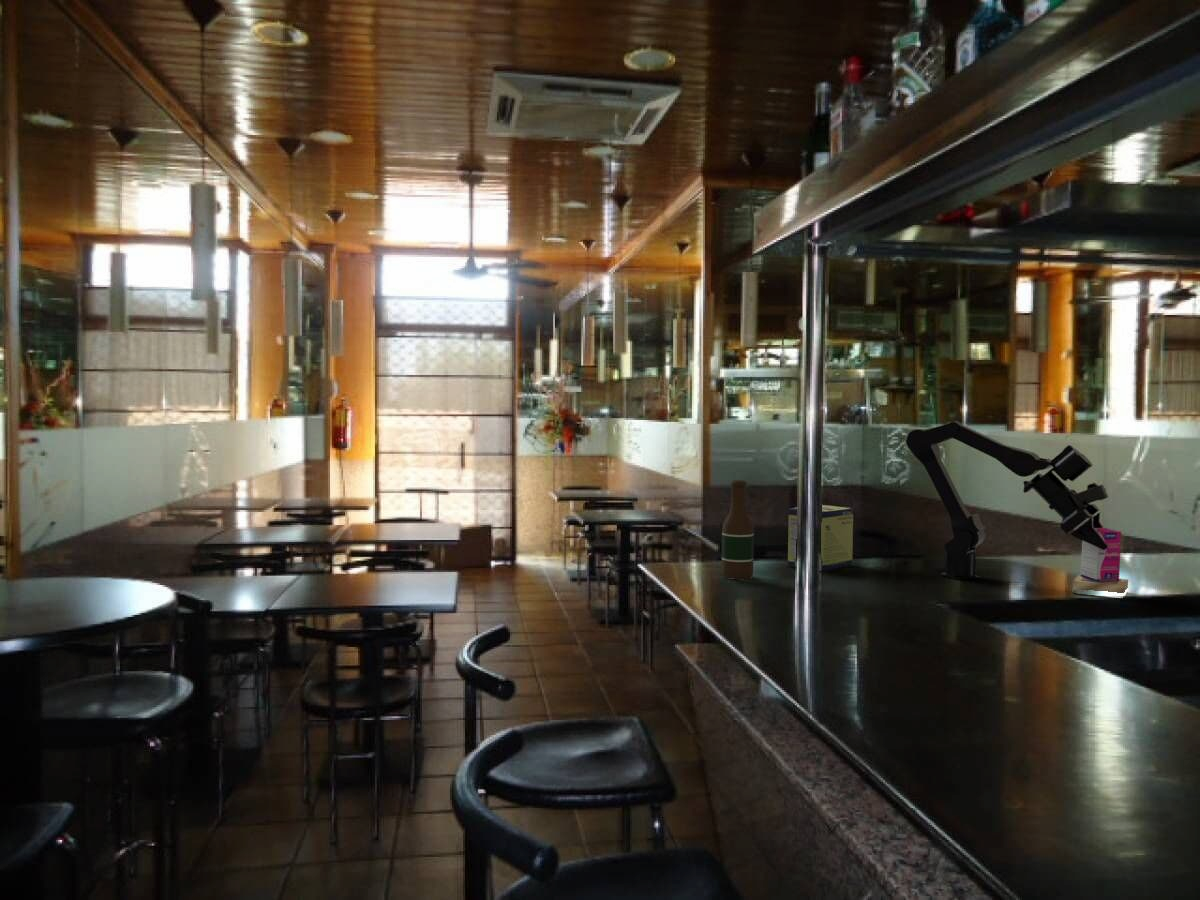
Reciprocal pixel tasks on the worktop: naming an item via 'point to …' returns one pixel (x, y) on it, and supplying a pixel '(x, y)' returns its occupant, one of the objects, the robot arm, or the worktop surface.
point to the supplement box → (1102, 557)
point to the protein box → (827, 536)
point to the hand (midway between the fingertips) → (1108, 546)
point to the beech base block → (1100, 585)
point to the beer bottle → (738, 536)
